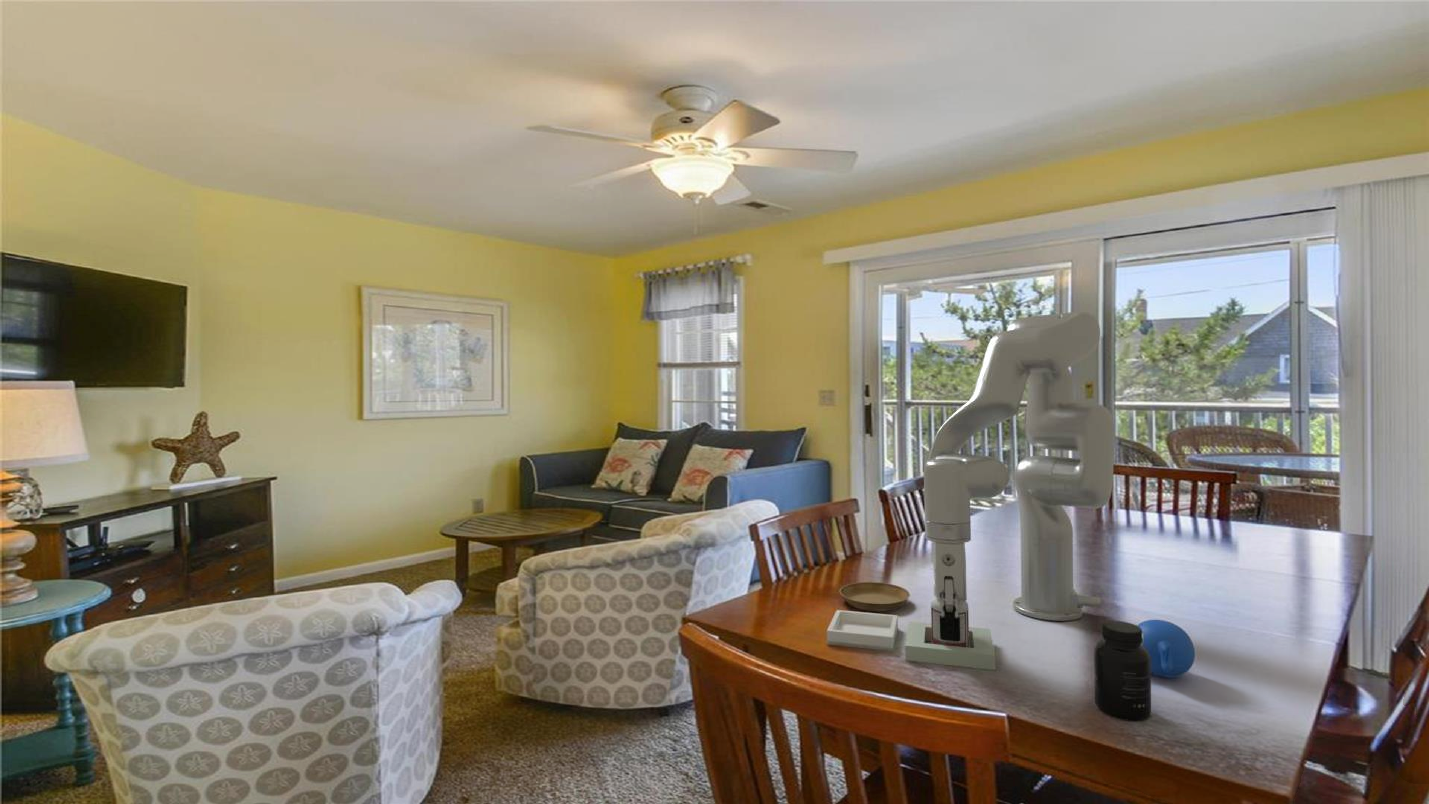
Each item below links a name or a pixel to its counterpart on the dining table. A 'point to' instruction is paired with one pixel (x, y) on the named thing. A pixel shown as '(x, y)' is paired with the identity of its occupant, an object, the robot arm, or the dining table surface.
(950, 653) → the socket holder
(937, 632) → the pill bottle
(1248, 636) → the dining table surface
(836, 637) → the tray
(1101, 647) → the supplement bottle
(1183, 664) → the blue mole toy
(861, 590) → the plant saucer
